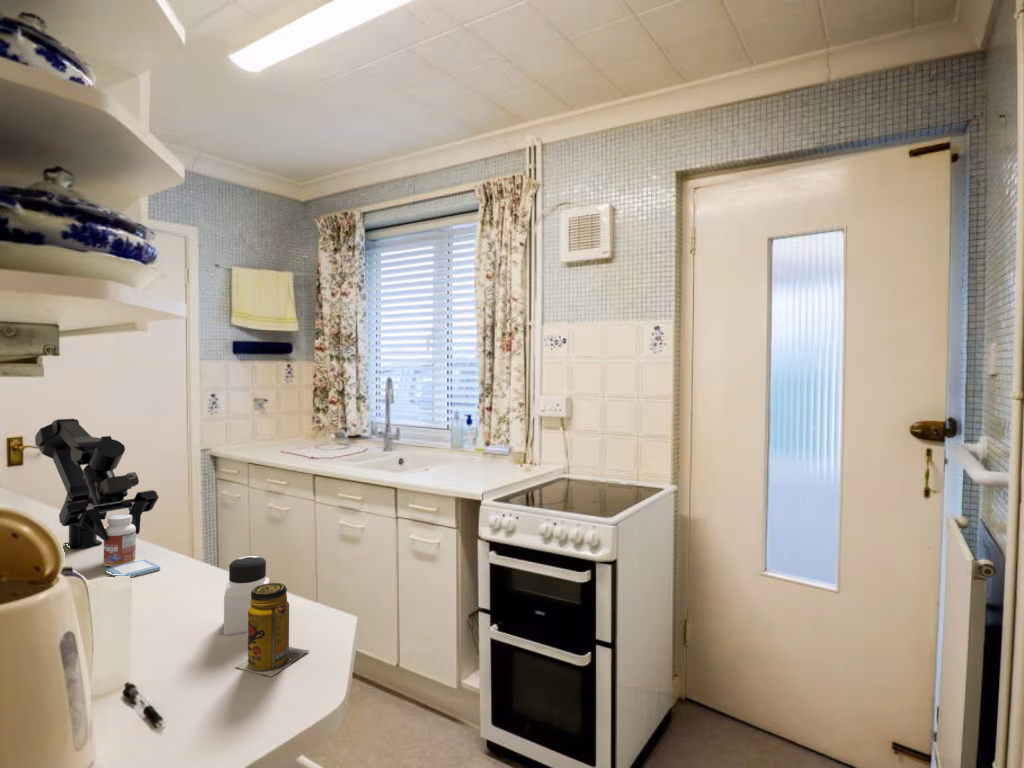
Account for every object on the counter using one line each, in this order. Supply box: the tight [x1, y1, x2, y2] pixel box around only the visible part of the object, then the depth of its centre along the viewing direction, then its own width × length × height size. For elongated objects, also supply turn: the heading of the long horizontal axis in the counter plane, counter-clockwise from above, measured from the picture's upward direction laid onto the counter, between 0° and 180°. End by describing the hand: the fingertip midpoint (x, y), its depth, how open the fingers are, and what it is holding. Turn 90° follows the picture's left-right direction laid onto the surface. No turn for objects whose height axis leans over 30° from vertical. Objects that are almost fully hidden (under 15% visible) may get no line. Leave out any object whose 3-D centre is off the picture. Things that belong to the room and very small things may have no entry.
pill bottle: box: [103, 513, 137, 568], centre depth 132 cm, size 6×6×11 cm
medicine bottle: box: [223, 555, 270, 636], centre depth 102 cm, size 7×7×12 cm
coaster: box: [105, 559, 161, 578], centre depth 127 cm, size 8×8×1 cm
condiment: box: [234, 582, 310, 677], centre depth 90 cm, size 7×8×12 cm
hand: (122, 536), depth 131 cm, fingers closed on pill bottle, 6 cm apart
